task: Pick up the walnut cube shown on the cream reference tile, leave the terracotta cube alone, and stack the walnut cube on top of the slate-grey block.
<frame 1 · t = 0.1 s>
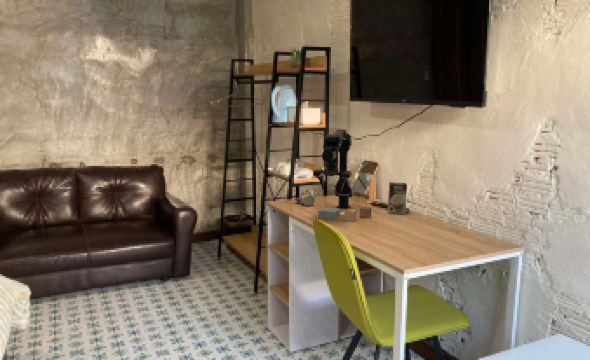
hand: (331, 190, 258), 15 cm above the table, fingers open, 9 cm apart
terracotta cube: (350, 220, 257), on the table
walnut cube: (365, 217, 264), on the table
grey block: (328, 217, 264), on the table
coffee box: (396, 213, 273), on the table
reference tile: (347, 214, 269), on the table
ceramic sculpture: (306, 204, 293), on the table
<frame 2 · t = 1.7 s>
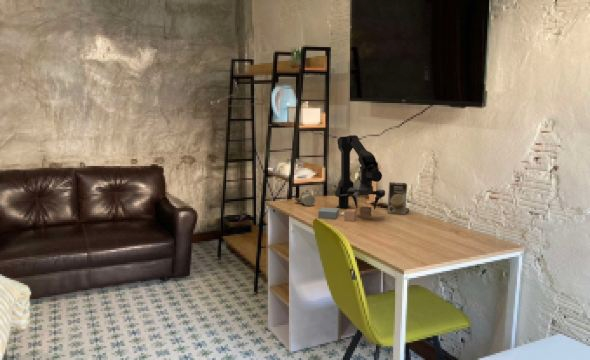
hand: (365, 208, 263), 4 cm above the table, fingers open, 9 cm apart
nothing on the table moved.
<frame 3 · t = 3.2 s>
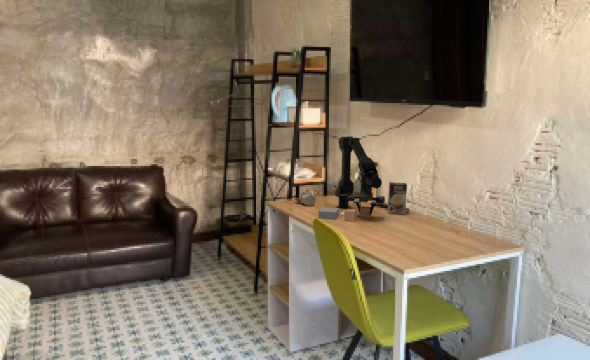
hand: (365, 215, 264), 1 cm above the table, fingers closed on walnut cube, 5 cm apart
walnut cube: (365, 216, 264), on the table, touching gripper
everything else where it was.
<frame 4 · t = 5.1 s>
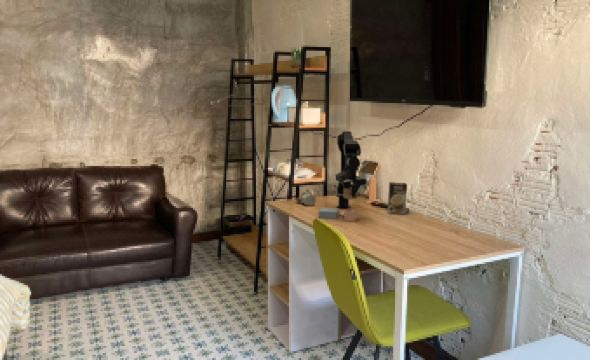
hand: (350, 196, 262), 11 cm above the table, fingers closed on walnut cube, 5 cm apart
walnut cube: (350, 198, 262), point 10 cm above the table, touching gripper
everything else where it was.
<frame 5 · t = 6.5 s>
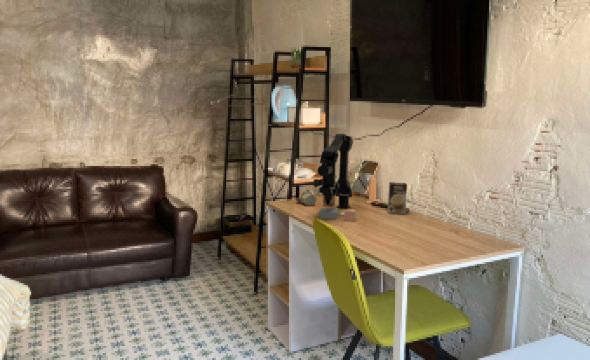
hand: (329, 203, 263), 7 cm above the table, fingers closed on walnut cube, 5 cm apart
walnut cube: (329, 205, 263), point 6 cm above the table, touching gripper
when the fingers open (6 cm above the table, at t = 7.4 s): walnut cube drops 1 cm, resting on grey block.
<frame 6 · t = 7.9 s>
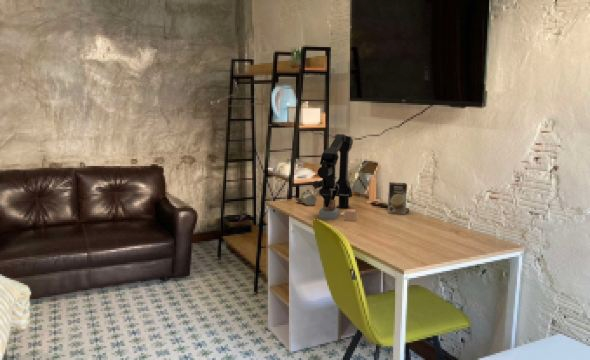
hand: (329, 205, 263), 6 cm above the table, fingers open, 9 cm apart
walnut cube: (329, 209, 263), point 4 cm above the table, touching grey block
grey block: (328, 217, 264), on the table, touching walnut cube
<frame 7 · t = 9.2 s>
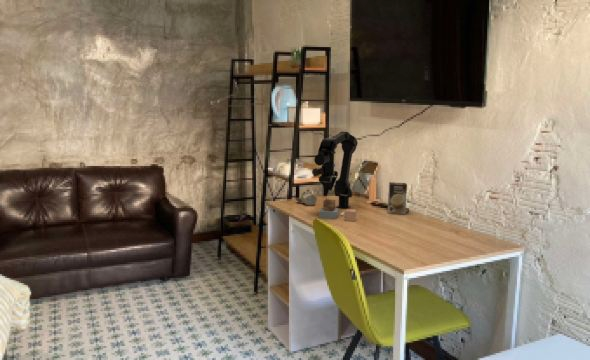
hand: (328, 192, 269), 12 cm above the table, fingers open, 9 cm apart
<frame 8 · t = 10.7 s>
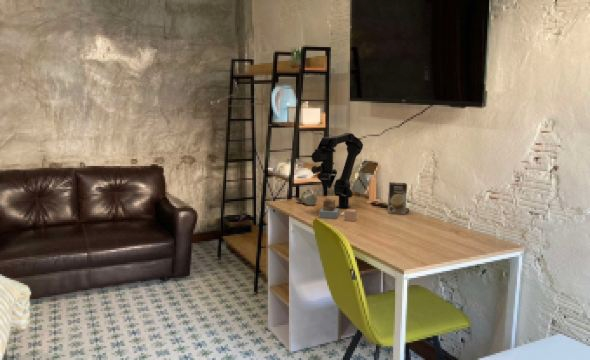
hand: (327, 189, 273), 12 cm above the table, fingers open, 9 cm apart
walnut cube: (329, 209, 263), point 4 cm above the table
grey block: (329, 217, 264), on the table
at the end: walnut cube 0.1 cm off-centre on the grey block, point 4.0 cm above the grey block's base; walnut cube tilted 0°; the gripper is holding nothing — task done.
